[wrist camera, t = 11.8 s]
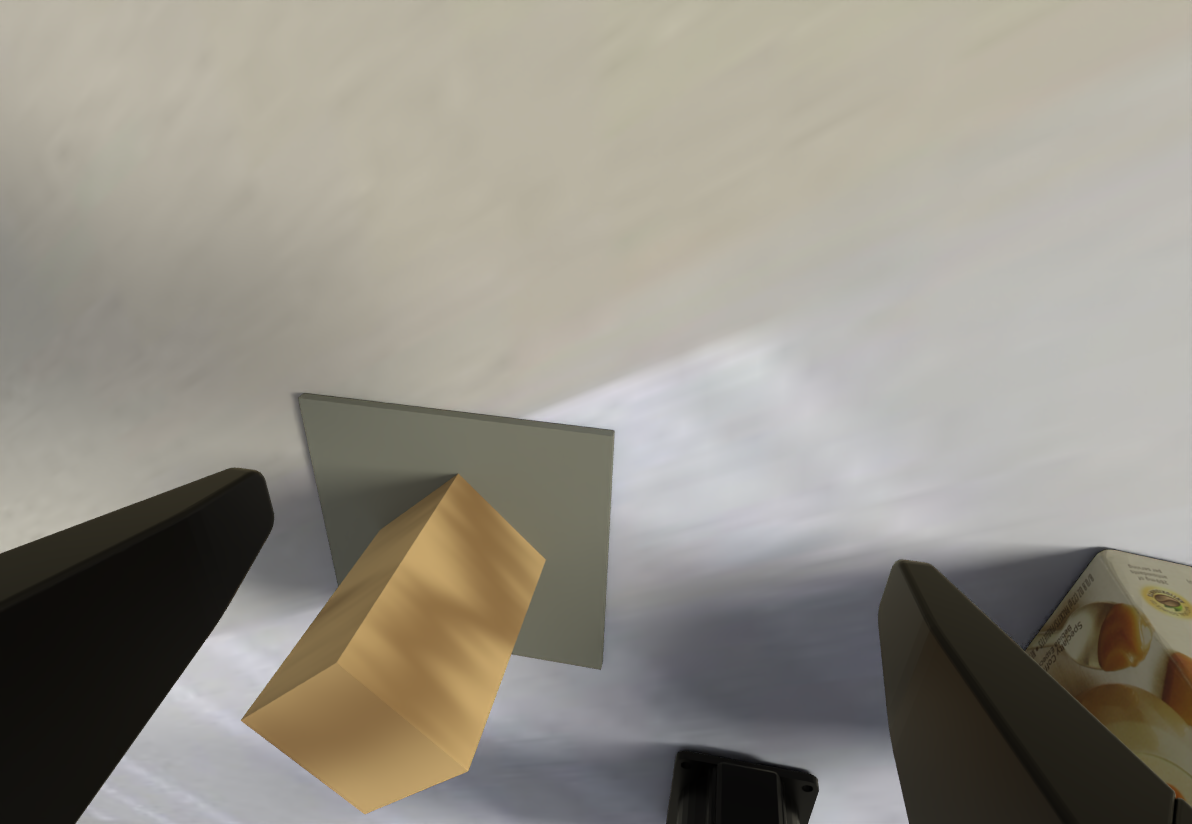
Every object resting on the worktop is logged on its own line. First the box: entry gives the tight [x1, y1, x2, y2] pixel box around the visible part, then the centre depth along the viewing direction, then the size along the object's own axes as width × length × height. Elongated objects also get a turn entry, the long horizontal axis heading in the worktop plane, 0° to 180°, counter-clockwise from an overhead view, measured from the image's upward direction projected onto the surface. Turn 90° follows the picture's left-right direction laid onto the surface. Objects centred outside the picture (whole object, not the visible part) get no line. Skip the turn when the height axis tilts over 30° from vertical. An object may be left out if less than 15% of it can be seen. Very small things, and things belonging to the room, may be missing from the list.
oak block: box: [241, 474, 546, 814], centre depth 23 cm, size 5×5×9 cm
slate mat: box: [298, 393, 615, 670], centre depth 27 cm, size 12×12×1 cm
